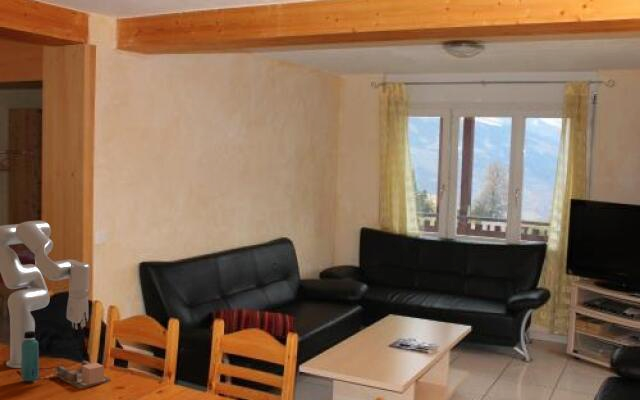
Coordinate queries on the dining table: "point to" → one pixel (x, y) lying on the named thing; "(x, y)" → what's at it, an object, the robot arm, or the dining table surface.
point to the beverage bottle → (30, 357)
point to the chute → (76, 376)
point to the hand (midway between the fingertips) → (77, 338)
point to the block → (92, 373)
